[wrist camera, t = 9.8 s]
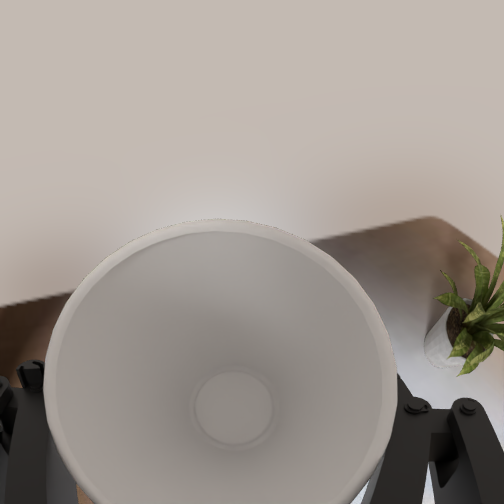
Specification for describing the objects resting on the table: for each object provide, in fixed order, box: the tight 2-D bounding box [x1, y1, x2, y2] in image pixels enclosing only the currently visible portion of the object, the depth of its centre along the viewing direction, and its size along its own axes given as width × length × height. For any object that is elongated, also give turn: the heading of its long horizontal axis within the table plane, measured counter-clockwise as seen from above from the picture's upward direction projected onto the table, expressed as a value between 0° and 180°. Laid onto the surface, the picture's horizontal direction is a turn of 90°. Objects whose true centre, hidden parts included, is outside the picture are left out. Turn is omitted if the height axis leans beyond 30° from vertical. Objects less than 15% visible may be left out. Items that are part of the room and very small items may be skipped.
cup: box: [43, 219, 397, 504], centre depth 12 cm, size 10×10×11 cm
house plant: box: [424, 217, 504, 377], centre depth 23 cm, size 14×14×16 cm
